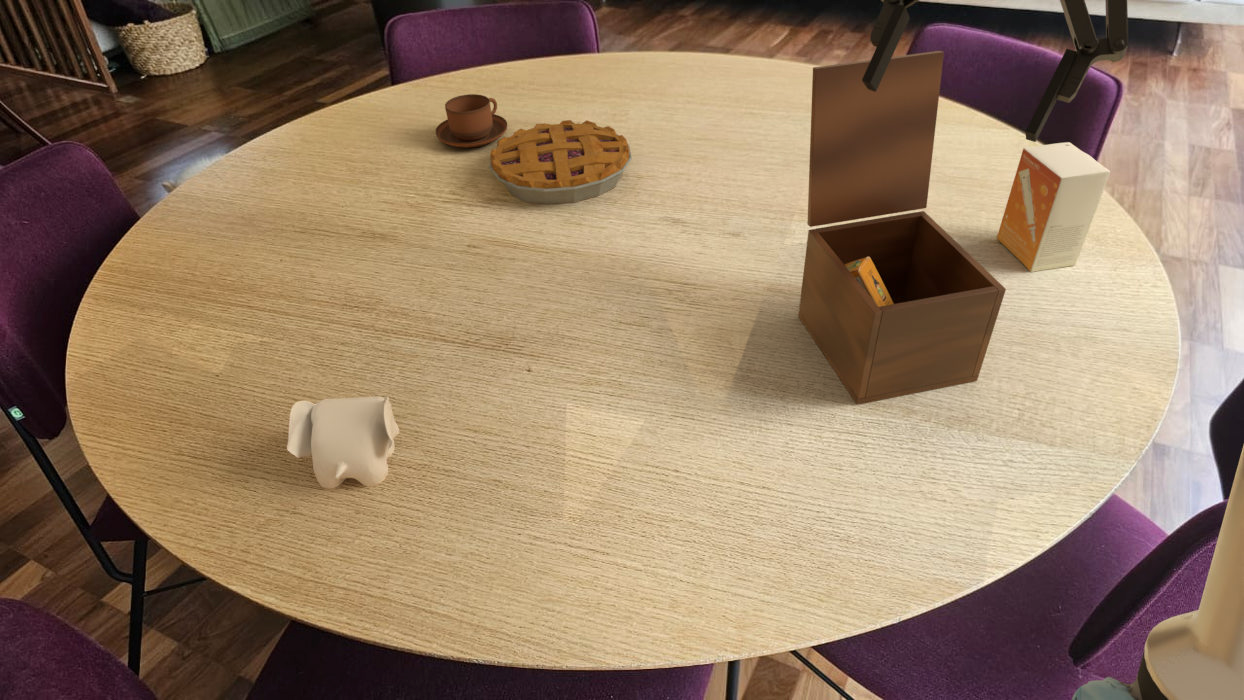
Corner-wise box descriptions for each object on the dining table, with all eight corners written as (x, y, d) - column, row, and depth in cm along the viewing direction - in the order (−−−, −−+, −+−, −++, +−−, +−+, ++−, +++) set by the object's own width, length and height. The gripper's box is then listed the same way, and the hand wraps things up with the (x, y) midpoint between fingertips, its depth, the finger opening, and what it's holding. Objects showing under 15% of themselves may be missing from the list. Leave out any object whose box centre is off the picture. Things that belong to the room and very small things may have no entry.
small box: (994, 239, 106) (1021, 146, 97) (1040, 233, 106) (1070, 140, 98) (1029, 273, 99) (1061, 177, 91) (1077, 266, 100) (1113, 170, 92)
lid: (944, 51, 80) (912, 42, 86) (816, 68, 79) (791, 58, 84) (926, 208, 89) (898, 191, 94) (810, 227, 87) (788, 208, 92)
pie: (483, 155, 132) (478, 126, 128) (613, 135, 135) (611, 106, 132) (501, 220, 115) (496, 188, 112) (649, 196, 119) (648, 164, 115)
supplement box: (880, 339, 90) (844, 262, 87) (909, 334, 87) (873, 254, 85) (870, 355, 88) (832, 276, 85) (899, 350, 85) (861, 268, 83)
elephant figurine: (422, 420, 84) (404, 354, 78) (402, 511, 75) (379, 444, 69) (330, 425, 84) (305, 359, 78) (299, 516, 75) (268, 450, 69)
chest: (977, 380, 85) (1006, 289, 77) (856, 404, 83) (874, 312, 75) (904, 297, 97) (923, 210, 89) (798, 316, 95) (808, 229, 87)
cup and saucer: (459, 120, 143) (452, 86, 139) (520, 127, 139) (515, 92, 135) (424, 149, 134) (416, 113, 130) (488, 157, 131) (482, 121, 127)
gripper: (1245, -101, 60) (1103, 170, 64) (923, -157, 70) (819, 79, 75) (1270, -157, 53) (1110, 149, 58) (911, -210, 64) (797, 53, 68)
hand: (946, 111), depth 66 cm, fingers open, 13 cm apart
